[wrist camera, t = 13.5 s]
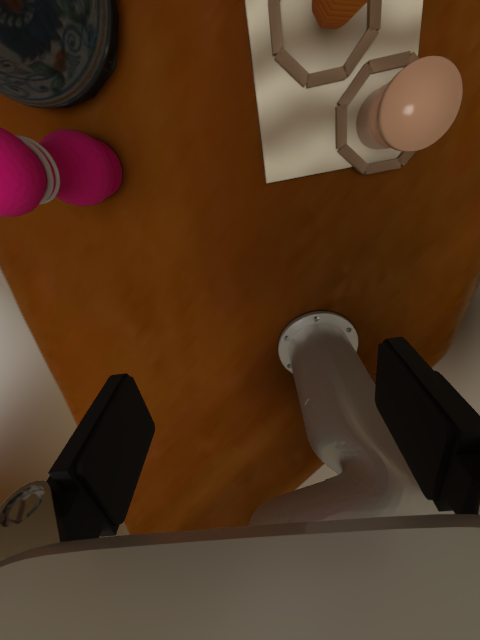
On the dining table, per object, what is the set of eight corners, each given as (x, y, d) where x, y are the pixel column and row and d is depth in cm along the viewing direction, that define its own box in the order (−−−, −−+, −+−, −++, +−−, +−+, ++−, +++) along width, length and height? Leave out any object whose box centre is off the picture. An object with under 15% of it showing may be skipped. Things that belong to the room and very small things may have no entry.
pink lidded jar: (410, 147, 31) (454, 143, 25) (351, 159, 32) (379, 157, 25) (418, 73, 28) (470, 47, 22) (352, 88, 29) (384, 66, 22)
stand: (418, 162, 33) (429, 162, 31) (267, 191, 35) (268, 193, 33) (455, -164, 22) (475, -196, 20) (232, -99, 24) (231, -122, 22)
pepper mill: (53, 156, 34) (-155, 147, 16) (98, 119, 32) (-81, 66, 14) (95, 212, 37) (-41, 256, 19) (139, 181, 35) (32, 199, 17)
